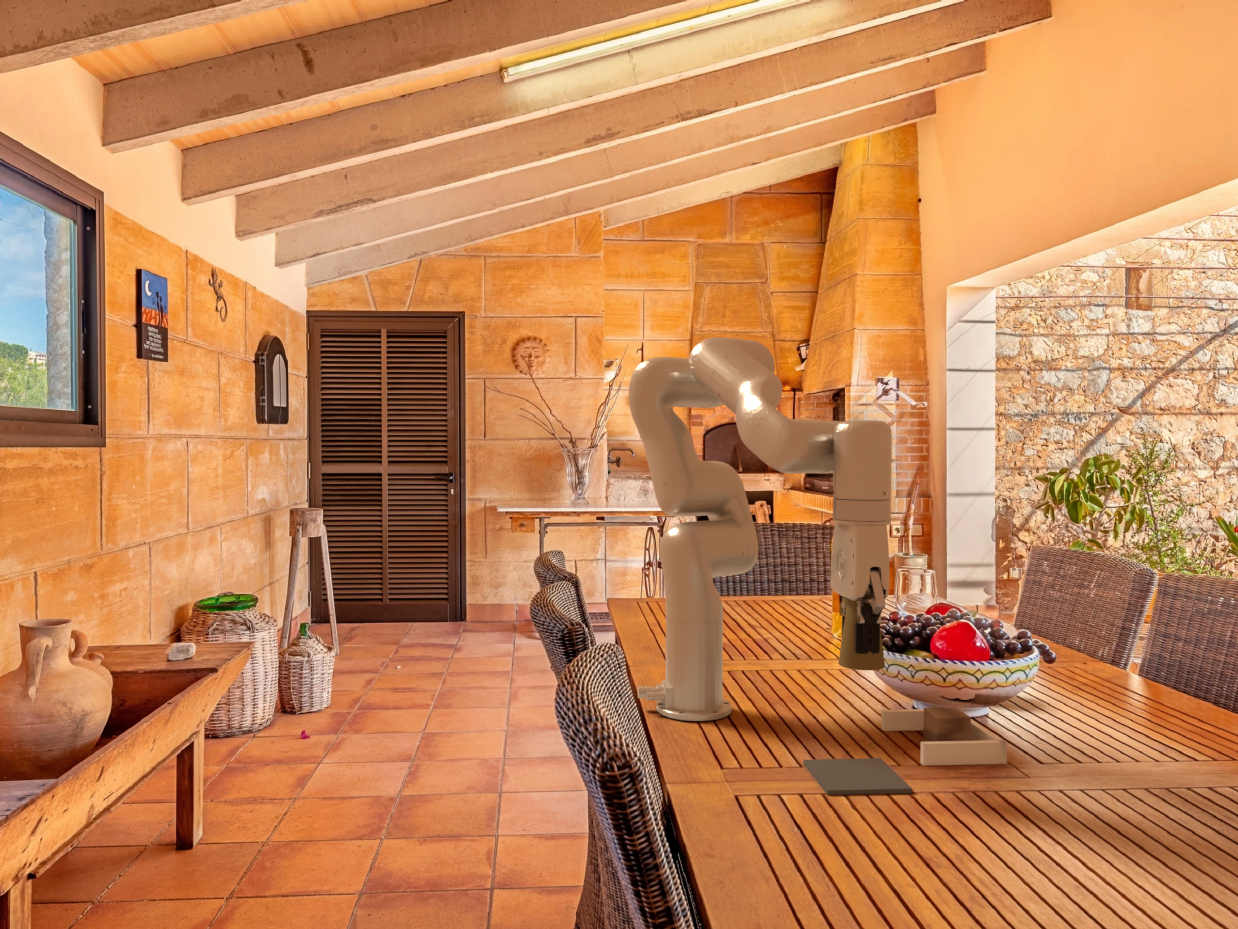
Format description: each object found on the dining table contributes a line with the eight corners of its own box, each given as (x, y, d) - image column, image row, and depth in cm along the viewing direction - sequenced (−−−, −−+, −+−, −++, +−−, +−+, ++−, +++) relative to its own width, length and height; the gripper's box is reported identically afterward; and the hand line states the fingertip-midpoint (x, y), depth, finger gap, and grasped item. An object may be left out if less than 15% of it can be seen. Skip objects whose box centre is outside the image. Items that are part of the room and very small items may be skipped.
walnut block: (936, 751, 128) (936, 717, 128) (923, 740, 133) (923, 707, 133) (970, 751, 129) (970, 717, 128) (955, 740, 134) (956, 707, 133)
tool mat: (827, 795, 112) (827, 790, 112) (803, 764, 123) (803, 759, 123) (912, 793, 113) (912, 788, 113) (880, 762, 124) (880, 758, 124)
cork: (887, 671, 115) (888, 587, 115) (839, 669, 116) (840, 585, 116) (882, 660, 121) (883, 580, 121) (836, 658, 122) (837, 579, 122)
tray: (923, 765, 122) (923, 744, 122) (881, 729, 138) (881, 709, 138) (1006, 763, 123) (1007, 742, 123) (955, 727, 139) (955, 708, 139)
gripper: (814, 508, 126) (813, 636, 126) (857, 517, 109) (855, 664, 110) (865, 508, 127) (864, 635, 127) (915, 517, 110) (913, 663, 110)
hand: (860, 647), depth 118 cm, fingers closed on cork, 4 cm apart
